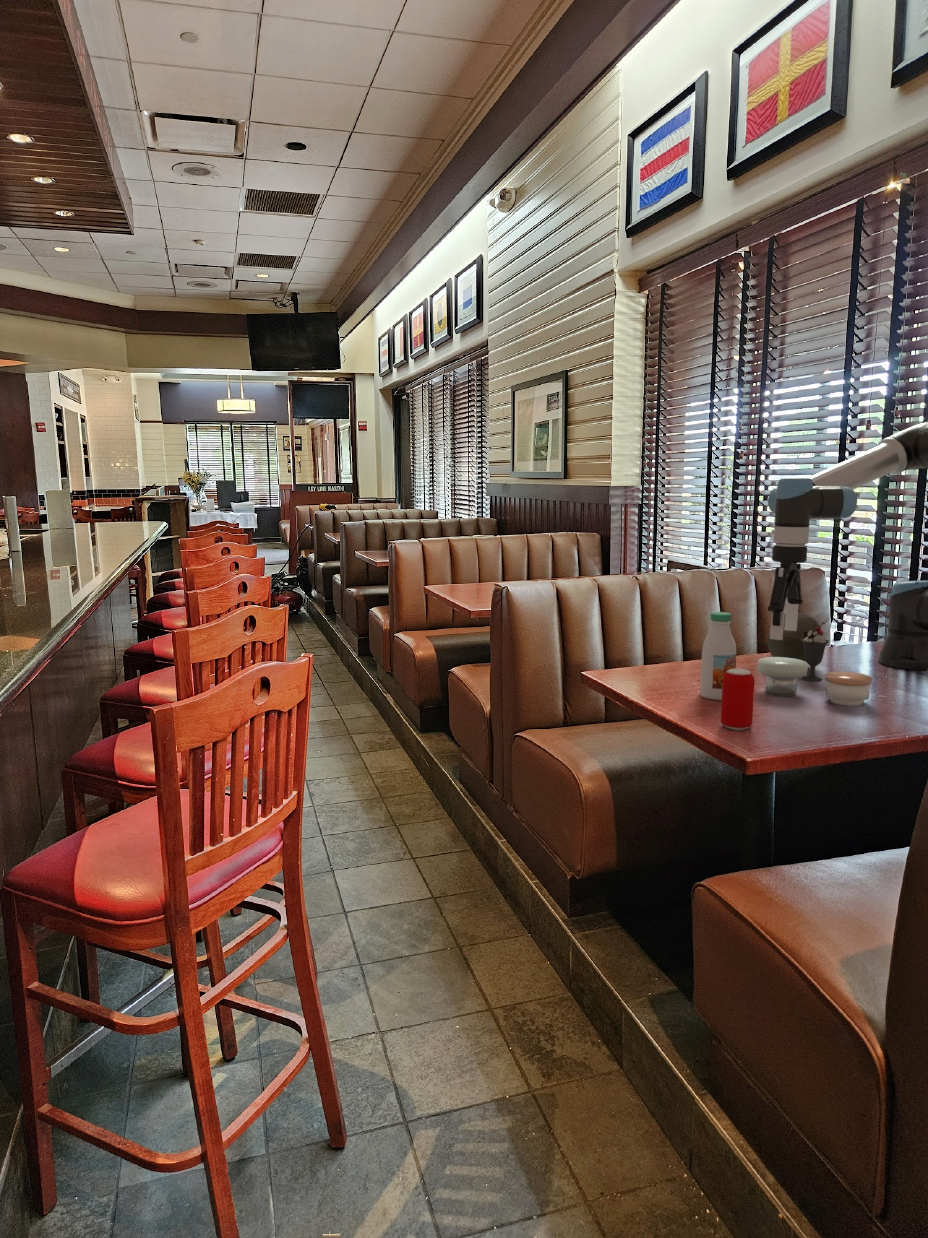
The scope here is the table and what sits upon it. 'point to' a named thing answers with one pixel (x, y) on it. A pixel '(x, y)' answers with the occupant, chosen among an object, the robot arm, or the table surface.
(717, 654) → the milk bottle
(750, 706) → the beverage can
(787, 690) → the lid stand
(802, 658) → the cantaloupe
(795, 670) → the lid
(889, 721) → the table surface
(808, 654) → the sundae
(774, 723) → the table surface
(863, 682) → the bowl
